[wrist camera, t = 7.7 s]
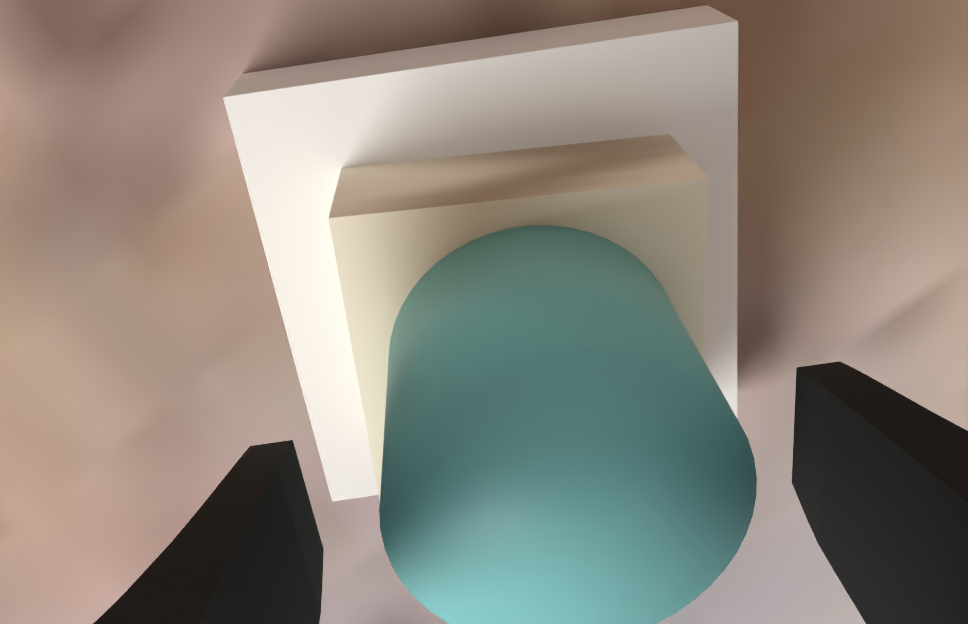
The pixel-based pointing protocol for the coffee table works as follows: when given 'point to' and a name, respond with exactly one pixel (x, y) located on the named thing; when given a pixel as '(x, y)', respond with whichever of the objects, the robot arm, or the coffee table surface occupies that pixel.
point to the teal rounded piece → (555, 439)
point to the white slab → (466, 131)
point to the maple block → (502, 205)
